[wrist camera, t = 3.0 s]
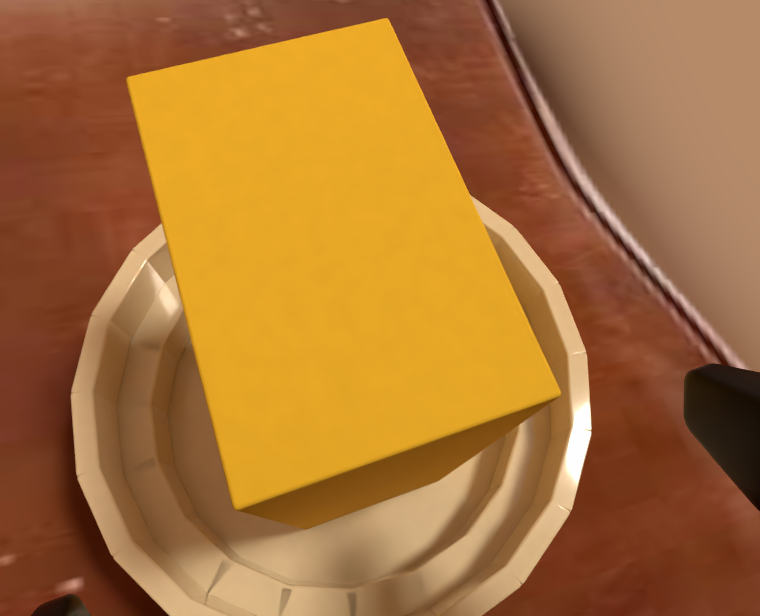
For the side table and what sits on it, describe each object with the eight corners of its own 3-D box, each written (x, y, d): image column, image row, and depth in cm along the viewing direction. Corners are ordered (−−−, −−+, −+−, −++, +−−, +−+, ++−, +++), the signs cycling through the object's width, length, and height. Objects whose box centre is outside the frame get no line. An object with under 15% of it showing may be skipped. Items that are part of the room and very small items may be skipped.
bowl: (624, 380, 21) (682, 345, 17) (363, 757, 17) (367, 819, 13) (322, 156, 24) (317, 85, 20) (32, 428, 20) (-42, 401, 16)
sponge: (440, 480, 19) (564, 394, 8) (304, 529, 18) (233, 511, 7) (369, 289, 21) (388, 15, 10) (246, 327, 21) (123, 75, 10)
